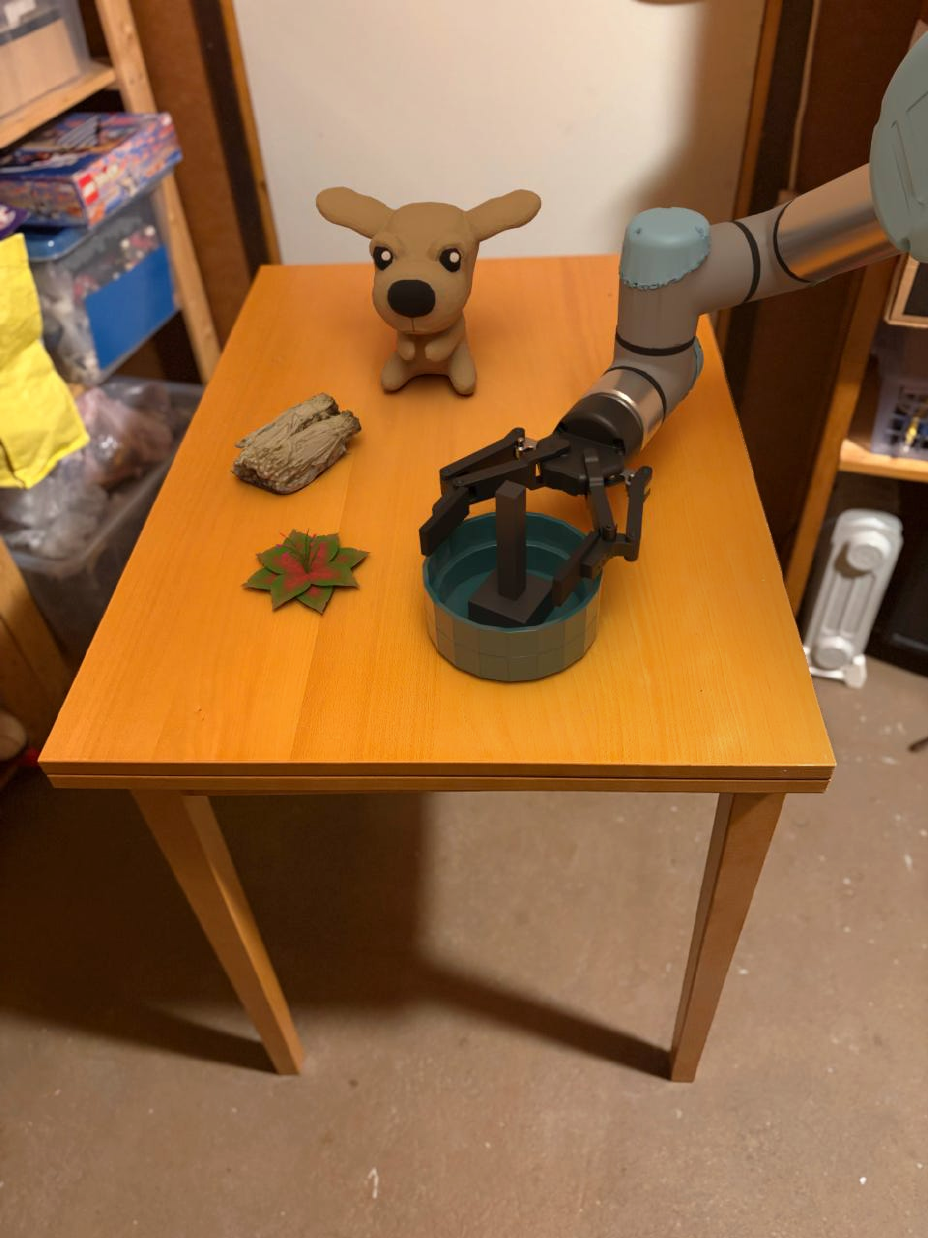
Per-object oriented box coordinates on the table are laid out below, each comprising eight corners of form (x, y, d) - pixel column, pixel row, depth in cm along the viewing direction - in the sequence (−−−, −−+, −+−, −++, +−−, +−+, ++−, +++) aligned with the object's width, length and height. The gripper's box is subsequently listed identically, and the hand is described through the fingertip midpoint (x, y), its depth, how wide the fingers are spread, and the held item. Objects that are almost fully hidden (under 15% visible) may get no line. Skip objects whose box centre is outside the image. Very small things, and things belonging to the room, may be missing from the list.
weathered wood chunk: (311, 417, 107) (303, 376, 103) (372, 445, 102) (367, 402, 98) (215, 480, 99) (203, 437, 95) (278, 513, 95) (268, 469, 91)
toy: (313, 412, 107) (281, 241, 93) (353, 329, 121) (331, 168, 107) (527, 423, 104) (528, 247, 90) (544, 336, 117) (547, 170, 103)
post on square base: (555, 607, 82) (559, 480, 72) (524, 647, 79) (524, 520, 69) (500, 586, 85) (497, 460, 75) (468, 625, 81) (461, 498, 71)
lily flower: (393, 552, 90) (388, 515, 86) (327, 634, 82) (320, 597, 79) (290, 521, 94) (281, 484, 90) (218, 597, 86) (206, 560, 83)
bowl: (625, 598, 84) (631, 543, 79) (547, 711, 75) (549, 657, 70) (483, 545, 90) (481, 492, 85) (395, 645, 81) (387, 591, 76)
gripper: (724, 498, 84) (622, 654, 71) (496, 429, 93) (371, 555, 81) (738, 428, 79) (630, 582, 66) (495, 362, 88) (360, 486, 75)
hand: (487, 567), depth 73 cm, fingers open, 11 cm apart
